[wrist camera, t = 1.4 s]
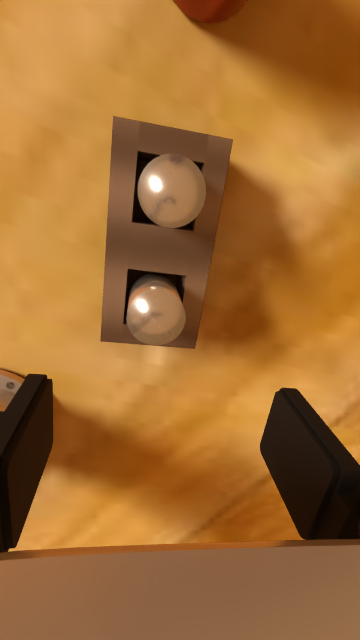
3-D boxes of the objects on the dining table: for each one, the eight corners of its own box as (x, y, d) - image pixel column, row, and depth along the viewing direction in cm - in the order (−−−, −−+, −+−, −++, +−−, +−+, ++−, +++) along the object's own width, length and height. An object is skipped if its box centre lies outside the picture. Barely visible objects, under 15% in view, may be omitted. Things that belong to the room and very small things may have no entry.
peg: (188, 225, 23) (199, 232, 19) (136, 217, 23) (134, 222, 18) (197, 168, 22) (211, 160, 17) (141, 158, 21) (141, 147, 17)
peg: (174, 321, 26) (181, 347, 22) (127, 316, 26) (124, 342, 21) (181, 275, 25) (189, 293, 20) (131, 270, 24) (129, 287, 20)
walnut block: (185, 322, 32) (194, 348, 26) (108, 315, 31) (100, 341, 25) (213, 151, 26) (233, 139, 21) (119, 134, 25) (113, 116, 19)
